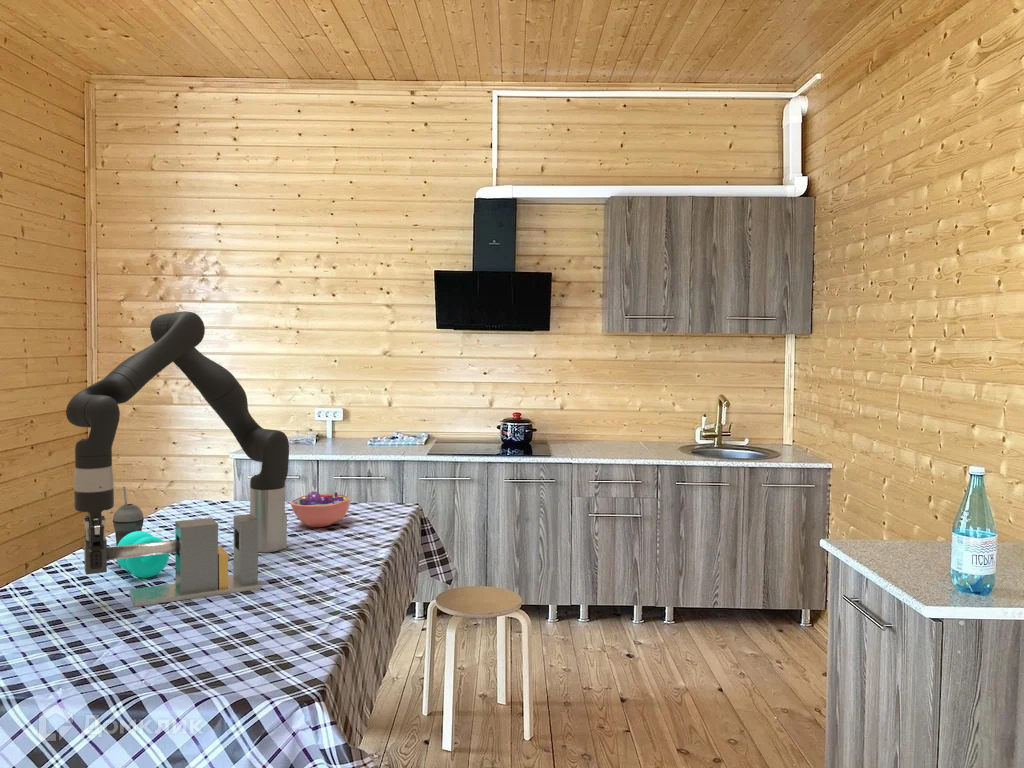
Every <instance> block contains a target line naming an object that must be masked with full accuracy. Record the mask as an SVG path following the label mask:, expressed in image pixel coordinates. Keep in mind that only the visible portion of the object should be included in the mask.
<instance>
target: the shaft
mask: <svg viewBox="0 0 1024 768" xmlns="http://www.w3.org/2000/svg"><path fill="white" fill-rule="evenodd" d="M106 537H107V536H105V538H104V543H103V546H104V548H103V551H102V568H100V569H91V568H90V551H89V541H87V538H86V537H84V538H83V539H84V541H83V542H84V545H83V547H84V549H83V550H84V554H83V555H84V560H83V561H84V563H83V564H84V574H85V576H86V575H87V576H88V575H93V574H94V575H95V574H101V573H107V572H108V564H107V563H108V561H113V560H116V559H124V558H133V557H142V556H150V555H159V554H168V553H169V554H175V553H177V552H180V540H175V539H172V540H163V541H162V542H153V543H143V544H134V545H124V546H117V545H116V546H115V545H114V546H107V545H108V543H107V541H108V540H107V538H106ZM93 545H100V541H97V542H93Z"/></svg>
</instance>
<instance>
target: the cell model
mask: <svg viewBox="0 0 1024 768" xmlns="http://www.w3.org/2000/svg"><path fill="white" fill-rule="evenodd" d="M350 501H351V497H350V496H347V495H344V494H343V493H338V492H334V494H329V493H326V494H325V493H324V494H320V493H319V492H318V491H316V490H313V491H310V492H309V493H308V494H307V495H302V496H300V497H297V498H295V499H292V500H291V501H290V503H289V504H290V506H291V510H292V511H293V514H294V515H295V516H296V517H297V519H298V520H299V521H300V522H301V523H302V524H304V525H306V526H307V527H310V528H324V527H327V526H330V525H333V524H335V523H337V522H338V521H340V520H342V519H344V518H345V516H346V514H347V513H348V511H349V509H350V504H351V502H350Z"/></svg>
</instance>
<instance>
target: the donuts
mask: <svg viewBox="0 0 1024 768" xmlns="http://www.w3.org/2000/svg"><path fill="white" fill-rule="evenodd" d="M162 541H164V540H163V539H162V538H159V537H157V536H153V534H152V533H149V532H148V531H144V530H142V531H135V532H132V533H129V534H127V535H126V536H124V537H123V538H122V539H121V540H120V542H119V543H118V545H116V546H124V545H134V544H143V543H153V542H162ZM169 557H170V553H168V554H159V555H150V556H142V557H133V558H124V559H115V560H116V563H117V564H118V566H119V565H120V566H121V567H120V566H119V567H120V568H122V569H124V570H125V571H128V572H129V573H130V574H131V575H133V576H135V577H137V578H141V579H149V578H152V577H155V576H156V575H158V574H159V573H161V572H162V571H163V570H164V569H165V568H166V566H167V564H168V561H169V559H170V558H169Z"/></svg>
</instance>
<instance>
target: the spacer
mask: <svg viewBox="0 0 1024 768" xmlns="http://www.w3.org/2000/svg"><path fill="white" fill-rule="evenodd" d="M228 576H229V553H228V552H227V551H226V550H225V548H223V546H222V545H218V588H219V589H223V588H228Z"/></svg>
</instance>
